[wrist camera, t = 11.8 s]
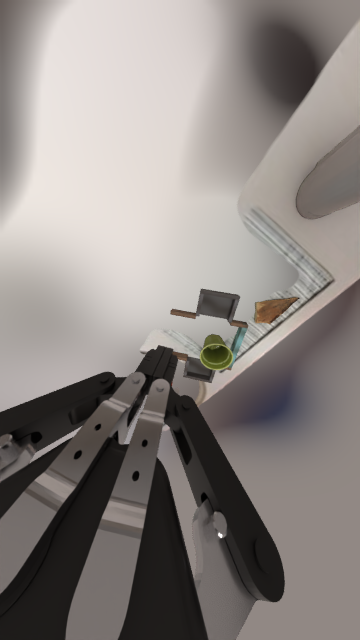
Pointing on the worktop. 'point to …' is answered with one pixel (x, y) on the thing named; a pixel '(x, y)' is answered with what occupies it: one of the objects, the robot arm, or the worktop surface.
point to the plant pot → (215, 353)
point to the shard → (271, 309)
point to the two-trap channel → (216, 307)
